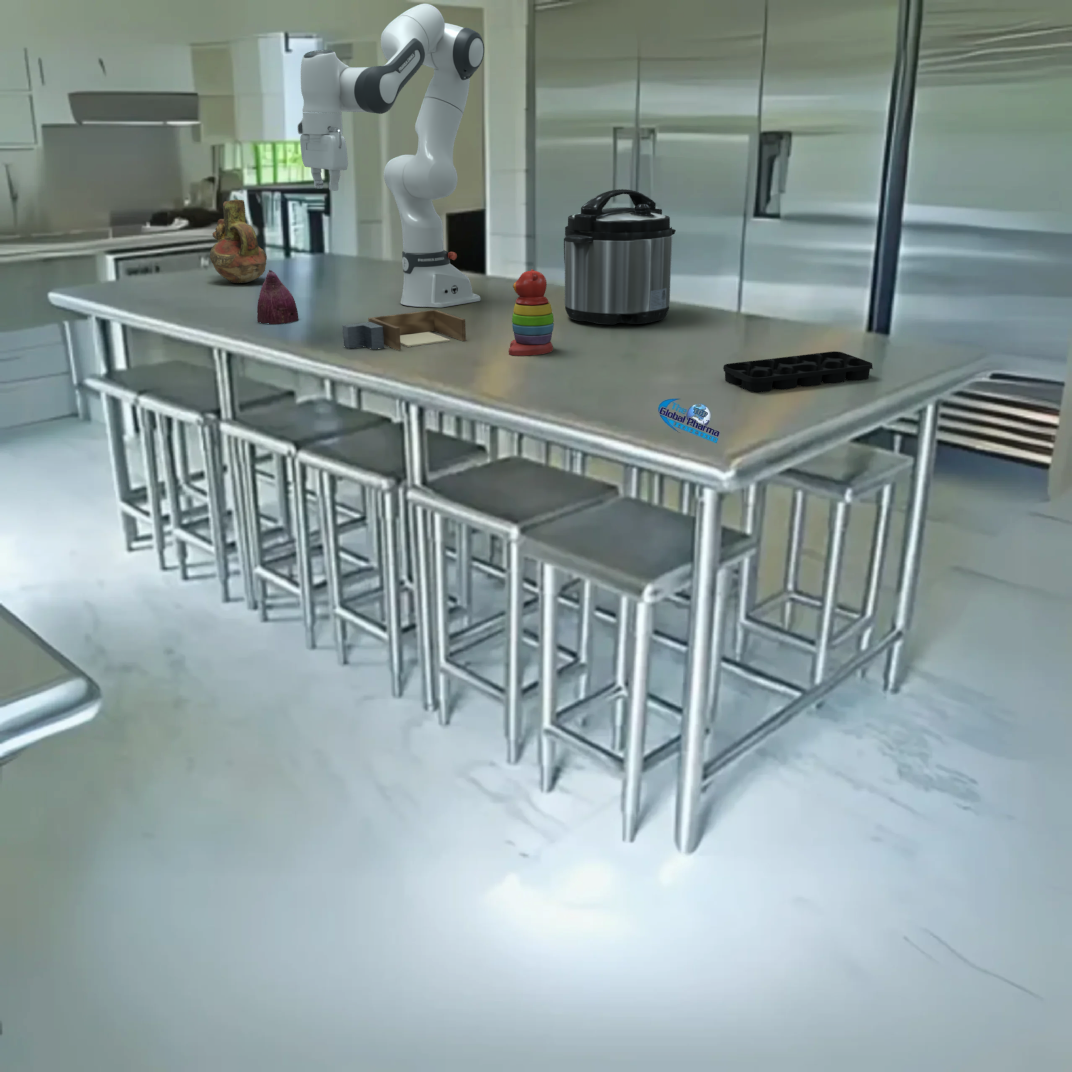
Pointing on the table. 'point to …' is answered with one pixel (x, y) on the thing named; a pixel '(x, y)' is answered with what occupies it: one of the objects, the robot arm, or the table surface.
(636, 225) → the pressure cooker
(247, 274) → the ceramic vessel
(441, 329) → the bay
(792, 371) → the black plastic tray
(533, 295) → the stacking bear
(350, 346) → the bracket
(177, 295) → the table surface
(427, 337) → the pad
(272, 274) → the vegetable
